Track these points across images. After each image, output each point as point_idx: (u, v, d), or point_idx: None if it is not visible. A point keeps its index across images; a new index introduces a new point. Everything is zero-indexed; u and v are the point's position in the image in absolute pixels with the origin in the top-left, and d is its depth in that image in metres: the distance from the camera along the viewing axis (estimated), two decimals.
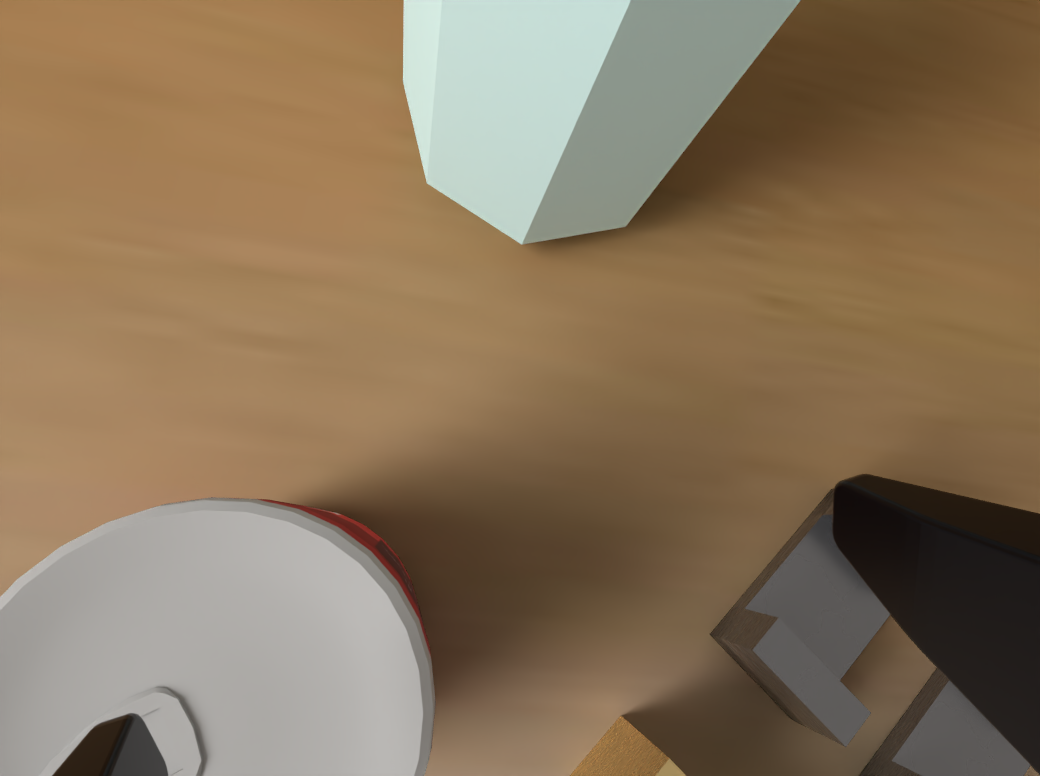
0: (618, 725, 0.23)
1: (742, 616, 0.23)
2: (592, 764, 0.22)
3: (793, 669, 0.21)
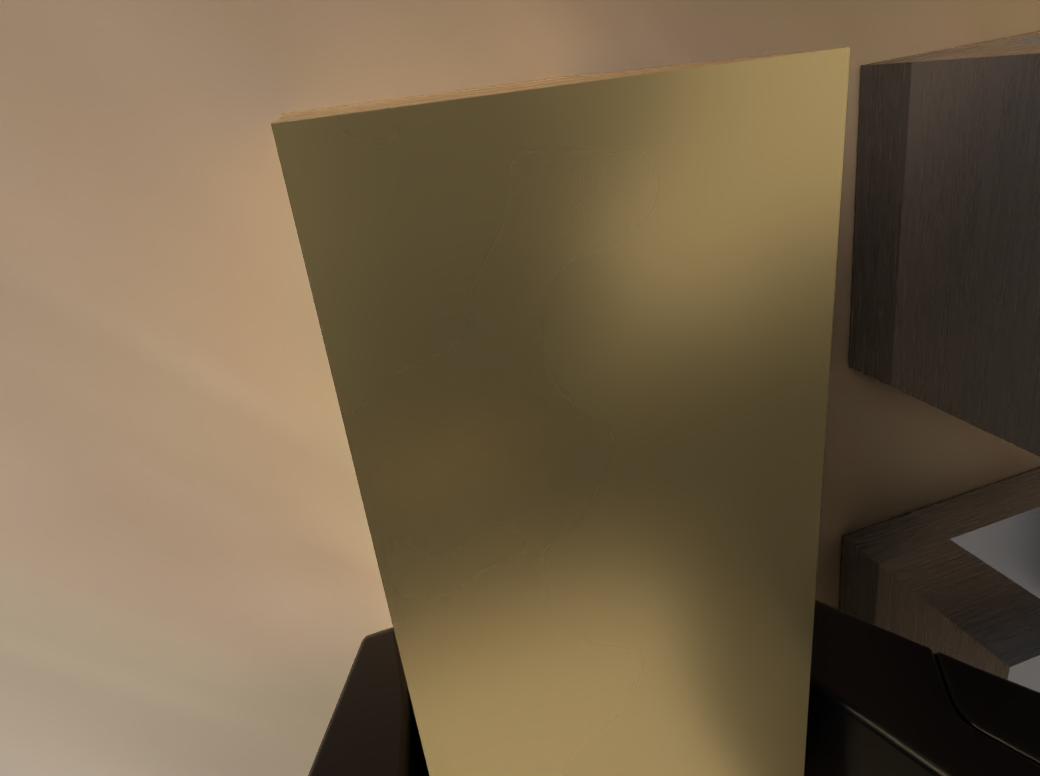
0: (557, 78, 0.07)
1: (1005, 45, 0.08)
2: (427, 95, 0.07)
3: None
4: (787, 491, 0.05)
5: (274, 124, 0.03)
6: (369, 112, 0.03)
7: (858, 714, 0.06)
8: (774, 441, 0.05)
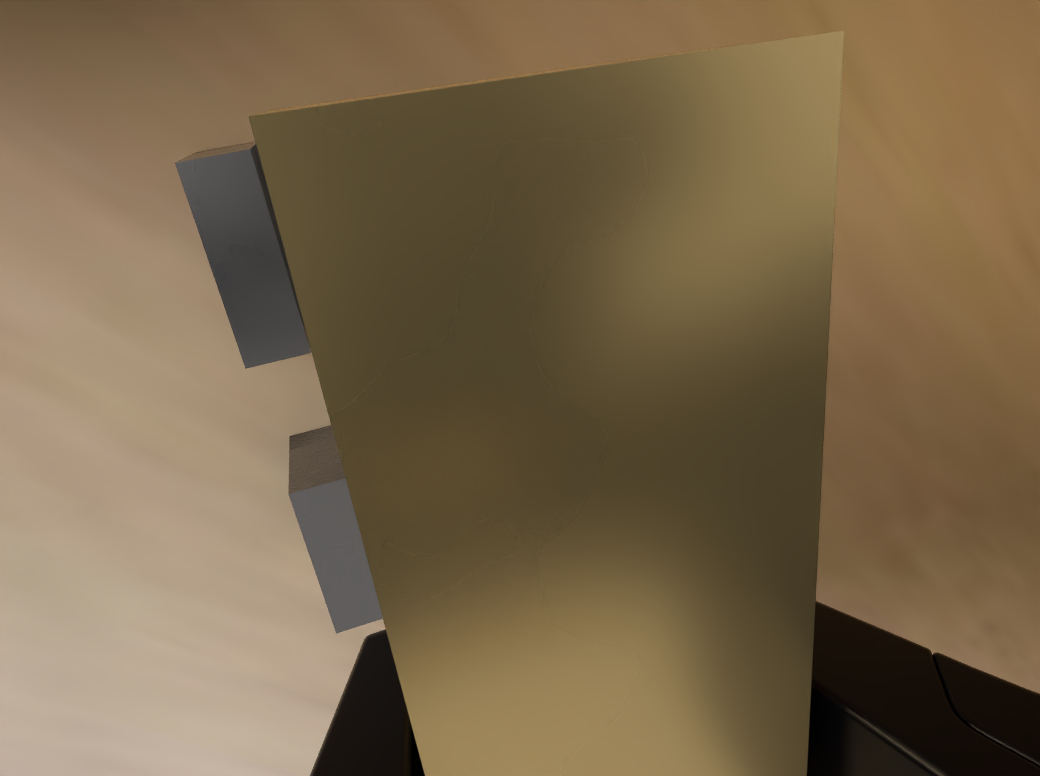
0: (549, 70, 0.07)
1: (240, 146, 0.14)
2: None
3: (228, 231, 0.13)
4: (786, 485, 0.05)
5: (253, 116, 0.03)
6: (351, 102, 0.03)
7: (856, 715, 0.06)
8: (772, 435, 0.05)
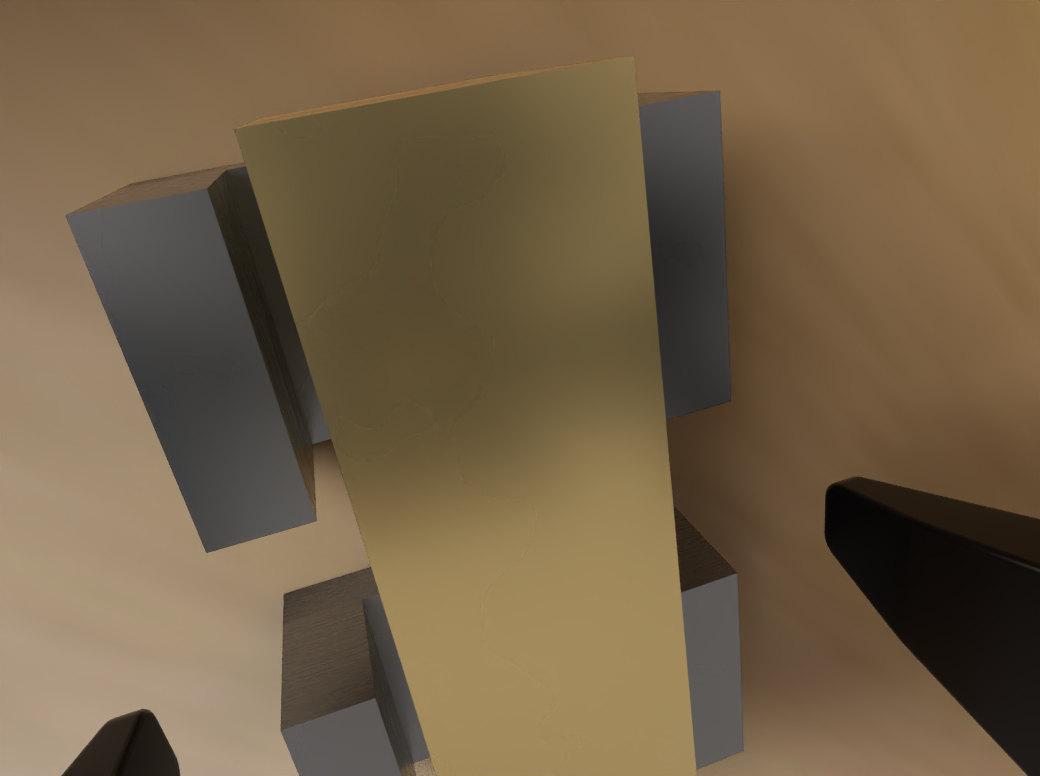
0: (480, 78, 0.09)
1: (198, 176, 0.09)
2: (373, 98, 0.08)
3: (169, 332, 0.07)
4: (633, 380, 0.07)
5: (236, 129, 0.05)
6: (298, 118, 0.05)
7: None
8: (618, 342, 0.06)
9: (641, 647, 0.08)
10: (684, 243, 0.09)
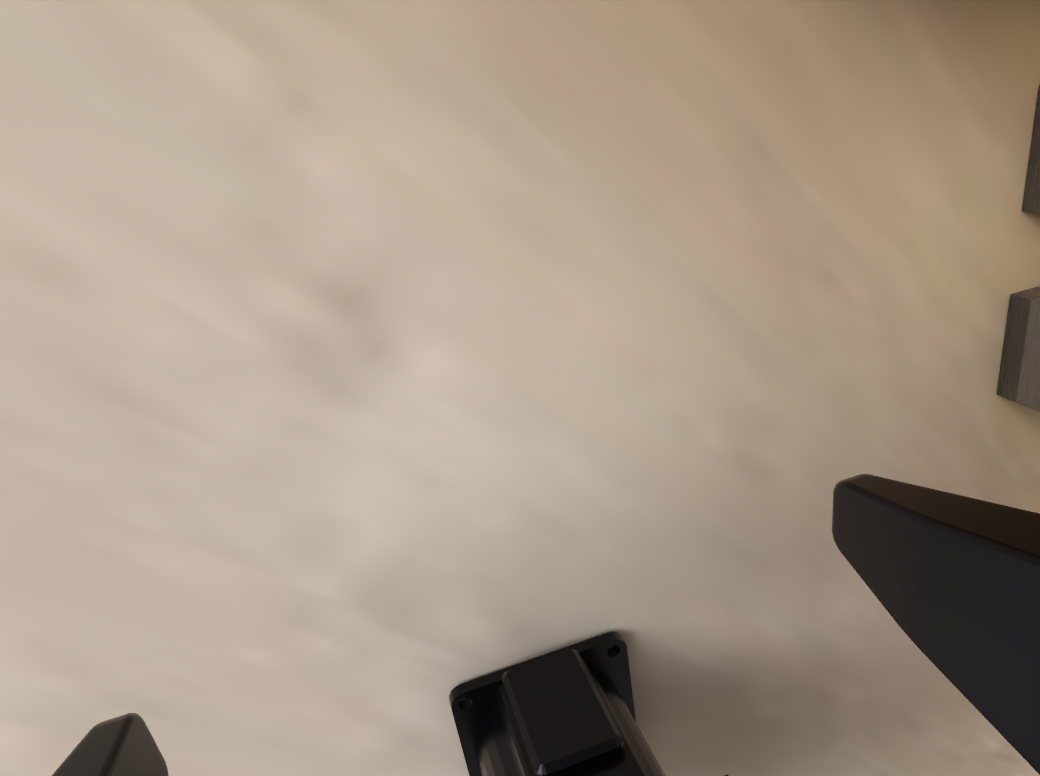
0: None
1: None
2: None
3: None
4: None
5: None
6: None
7: None
8: None
9: None
10: None
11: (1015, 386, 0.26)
